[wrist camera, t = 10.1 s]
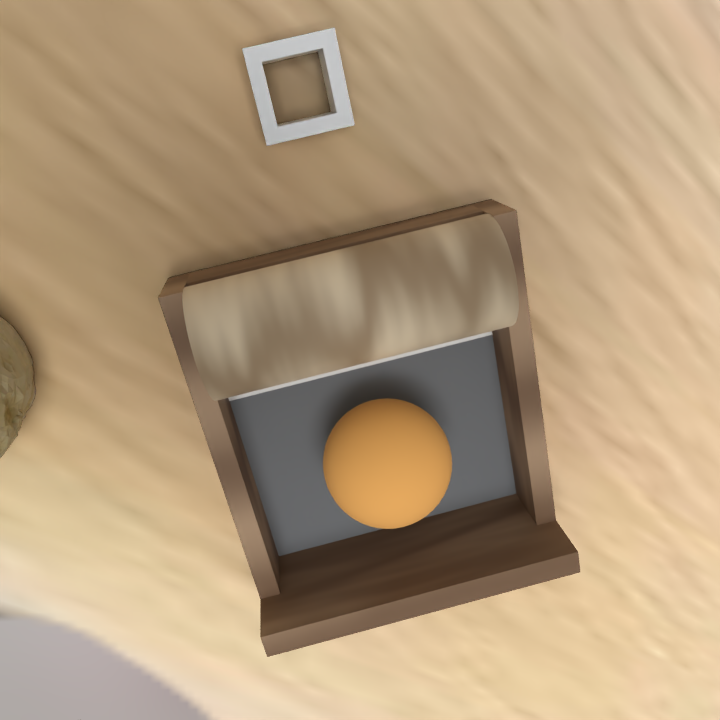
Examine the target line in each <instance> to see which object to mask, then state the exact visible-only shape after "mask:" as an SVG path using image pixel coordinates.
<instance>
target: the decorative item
mask: <svg viewBox="0 0 720 720" xmlns="http://www.w3.org/2000/svg"><path fill="white" fill-rule="evenodd" d="M32 365H33V360H32V358H31V356H30V354H29V352H28V350H27V347H26V345H25V343H24V342H23V340H22V339H21V337H20V336H19V334H18V333H17V332H16V330H15V329H14V328H13V326H11V325H10V324H9V323H8V322H7V321H5V320H4V319H3V318H1V317H0V458H1V457H2V456H3V455H4V453H5V452H6V450H7V449H8V448H9V446H10V445H11V443H12V442H13V440H14V439H15V438H16V437H17V436H18V430H19V429H20V428H21V425H22V421H23V419H24V418H25V417H26V415H25V414H26V412H27V410H28V409H29V408H30V407H31V405H32V403H33V400H34V397H35V393H36V389H35V385H34V380H33V376H34V371H33V368H32Z"/></svg>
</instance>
